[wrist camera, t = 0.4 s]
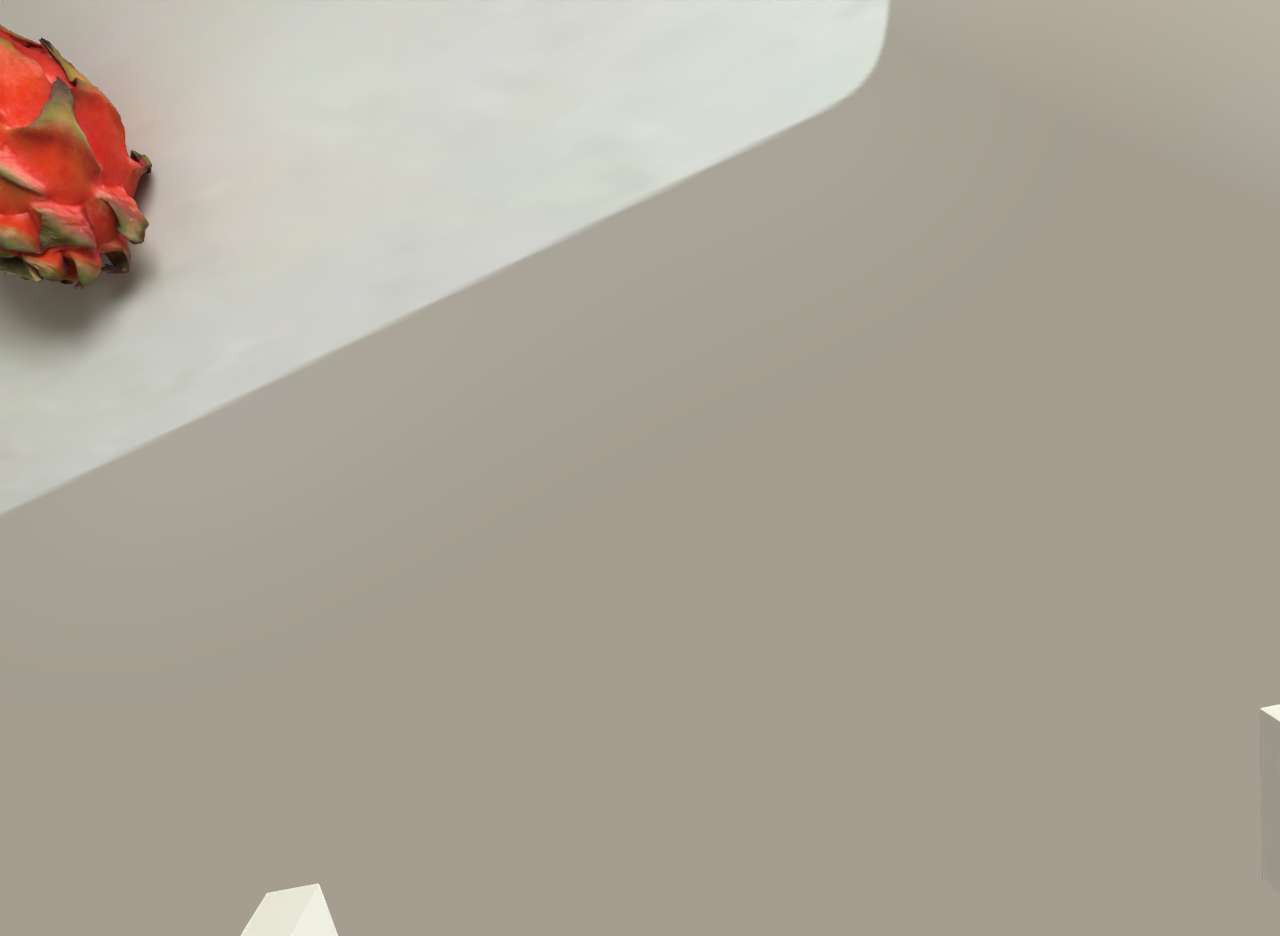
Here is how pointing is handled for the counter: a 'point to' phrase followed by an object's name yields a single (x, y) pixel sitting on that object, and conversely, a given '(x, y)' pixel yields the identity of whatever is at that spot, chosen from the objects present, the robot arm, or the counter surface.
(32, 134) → the dragon fruit
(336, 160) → the counter surface
